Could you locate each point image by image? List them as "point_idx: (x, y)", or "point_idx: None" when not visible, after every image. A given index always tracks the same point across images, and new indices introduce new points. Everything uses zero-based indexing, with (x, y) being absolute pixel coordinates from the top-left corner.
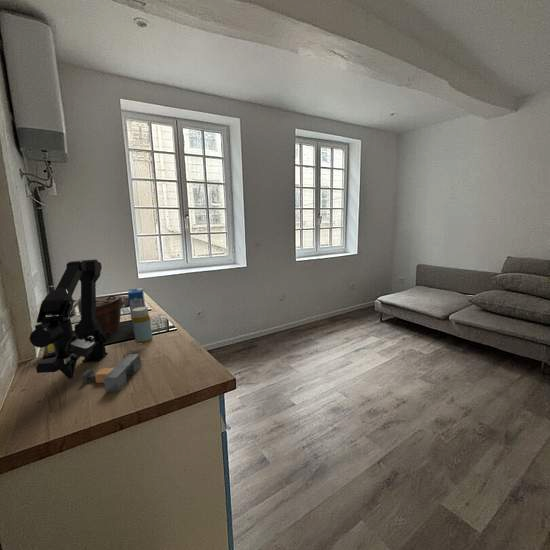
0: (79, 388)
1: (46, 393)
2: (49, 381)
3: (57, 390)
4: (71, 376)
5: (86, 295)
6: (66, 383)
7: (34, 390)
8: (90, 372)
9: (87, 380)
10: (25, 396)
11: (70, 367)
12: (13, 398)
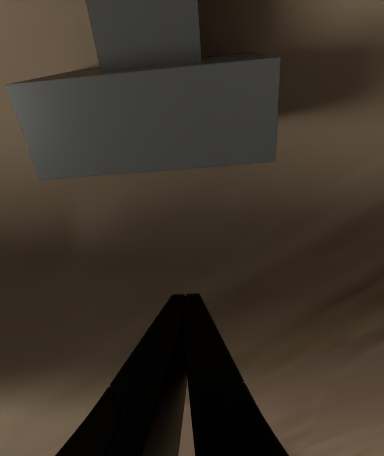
0: (375, 75)
1: (374, 339)
2: (190, 411)
3: (346, 292)
4: (205, 309)
5: None
6: (227, 296)
7: (301, 419)
8: (116, 71)
9: (236, 56)
10: (371, 420)
11: (236, 445)
12: (373, 451)
